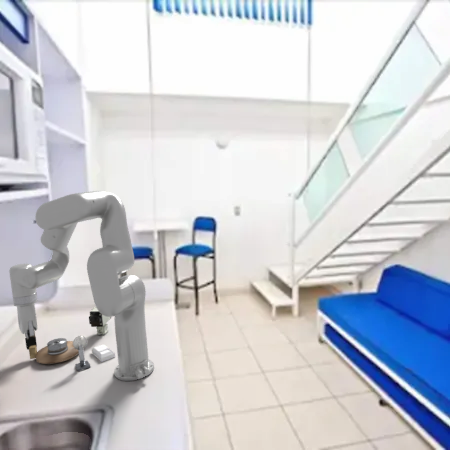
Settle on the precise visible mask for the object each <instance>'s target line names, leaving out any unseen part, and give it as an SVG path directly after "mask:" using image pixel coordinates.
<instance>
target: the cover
mask: <svg viewBox="0 0 450 450" xmlns="http://www.w3.org/2000/svg"><path fill="white" fill-rule="evenodd" d="M67 341H68V340H67V338H65V337H59V338H54V339H51V340H50V341H48V342H47V343H46V346H47V348H48V351H47V353H48V355H52V356H54V355H60V354H63V353H65V352H66V351H67V350H68V346H67Z"/></svg>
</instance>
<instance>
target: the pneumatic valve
mask: <svg viewBox="0 0 450 450" xmlns="http://www.w3.org/2000/svg"><path fill="white" fill-rule="evenodd" d="M111 319H112V317H107V316H104V315H102V314H101V313H100V312H99V311H98V309H97V308H96V306H95V307H92V309H91V310H90V311H89V316H88V321H89V323H88V324H89V325H90V327H91V328H96V335H98V336H99V335H103V336H105V335H106V334H108V332H109V329H108V322H109V321H110V320H111Z"/></svg>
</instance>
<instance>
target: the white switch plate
mask: <svg viewBox="0 0 450 450" xmlns="http://www.w3.org/2000/svg"><path fill="white" fill-rule="evenodd" d="M91 354H92V355H93V356H94V357H96V358H97V359H98V360H99V361H100V362H101V363H102V362H105V361H108V360H111V359H113V357H114V358H115V357H116V353H115V352H114V351H113V350H112V349H111V348H109V347H108V346H107V345H106V344H104V343H103V344H101V345H100V344H99V345H97V346H94V347H93V348H92V349H91Z"/></svg>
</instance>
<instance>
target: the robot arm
mask: <svg viewBox="0 0 450 450" xmlns="http://www.w3.org/2000/svg"><path fill="white" fill-rule="evenodd" d="M34 216H35V217H34V218H35V222H36V225H37V226H38V227H39V228H40V229H41V230H43V231H42V234H41V236H40V243H41V244H42V246H43V247H44V248H46V249H48V250H50V251H52V252H53V255H52V254H51V255H52V259H51V260H50V261H49V260H48V261H45V262H42V263H38V264H35V265H32V264H31V263H20V264H15V265H12V266H10V267H9V271H8V272H9V278H10V287H11V295H12V302H13V306H14V307H16V312H17V313H16V314H17V322H18V323H17V324H18V329H19V330H20V333H21V334H23V335H25V337H24V339H25V347H26V350H28V351H29V347H30V346H34V345H36V347H37V348H38V344H37V343H38V342H37V337H36V331H37V330H38V320H37V313H36V305H35V304H36V303H37V302H38V301H39V300H38V294H37V289H39V288H41V287H43V286H47V285H49V284H51V283H54V282H57V281H58V280H59V279H60V278H61V277H62V276H63V275H64V274H65V271H66V269H67V267H68V265H69V262H70V250H69V248H68V245H69V243H70V240H71V239H72V236H73V233H74V232H75V229H76V227H77V225H78V223H80V222H81V223H82V222H87V221H91V220H95V219H101V223H100V227H99V232H100V233H99V235H100V238H101V243H102V247H99V248H97V249H95V250H93V251H92V252H91V253H90V254H89V256H88V259H87V262H86V270H87V276H88V280H89V285H90V289H91V293H92V298H93V303H94V305H95V307H96V308H97V309H98V311H99V312H100V313H101V314H102V315H104V316H107V317H111V318H113V317H114V320H113V321H114V332H115V341H116V343H115V344H116V353H117V362H118V364H117V365H116V366H115V368H114V371H113V372H114V377H115V378H116V379H118V380H120V381H125V382H126V381H128V382H130V381H131V382H132V381H137V379H138V380H141V379H143V377H144V378H145V376H146V377H148V376H149V375H150V374H151V373H152V372H153V371H154V369H155V364H154V361H152V360H151V359H149V352H148V340H147V339H148V338H147V328H146V314H145V313H146V312H145V308H146V307H145V305H146V302H145V301H146V295H147V294H146V292H147V291H146V286H145V283H144V281H143V280H142V279H141V277H139V276H137V275H134V274H126V275H123V276H119V275H122V274H124V273H126V272H127V271H129V270H131V269H132V268H133V267H134V265H135V254H134V250H133V243H132V239H131V234H130V231H129V225H128V220H127V212H126V207H125V205H124V203H123V201H122V200H121V198H120V197H119V196H118V195H116V194H114V193H112V192H110V191H105V190H104V191H103V190H95V191H94V190H93V191H86V192H75V193H70V194H68V195H64V196H62V197H58V198H56V199H52V200H49V201H47V202H44V203H42V204H40V206H39V207H38V208H37V210H36V212H35V215H34Z"/></svg>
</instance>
